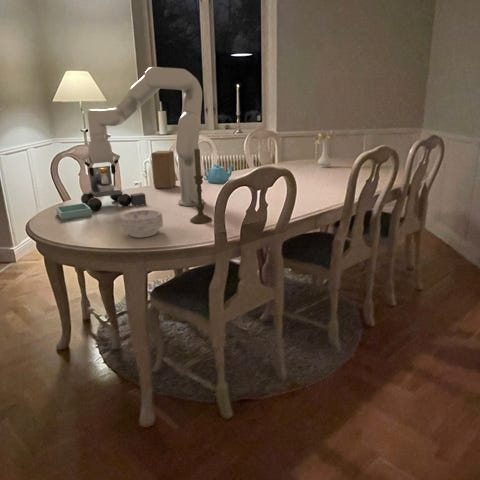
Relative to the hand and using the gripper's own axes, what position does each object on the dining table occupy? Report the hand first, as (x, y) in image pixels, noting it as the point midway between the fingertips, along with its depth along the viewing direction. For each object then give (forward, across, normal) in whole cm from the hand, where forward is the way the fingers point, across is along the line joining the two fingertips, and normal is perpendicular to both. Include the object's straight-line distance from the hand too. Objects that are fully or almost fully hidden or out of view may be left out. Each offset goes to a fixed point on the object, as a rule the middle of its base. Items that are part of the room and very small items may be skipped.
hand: (102, 175), depth 200 cm
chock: (+15, -14, +5) cm, 21 cm away
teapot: (+14, -73, -19) cm, 76 cm away
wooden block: (+15, -41, -26) cm, 50 cm away
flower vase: (+13, -155, -18) cm, 156 cm away
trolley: (+15, -1, -2) cm, 15 cm away
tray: (+15, +16, +7) cm, 24 cm away
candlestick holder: (+14, -26, +49) cm, 58 cm away
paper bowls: (+15, 0, +52) cm, 54 cm away
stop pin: (+7, 0, 0) cm, 7 cm away
